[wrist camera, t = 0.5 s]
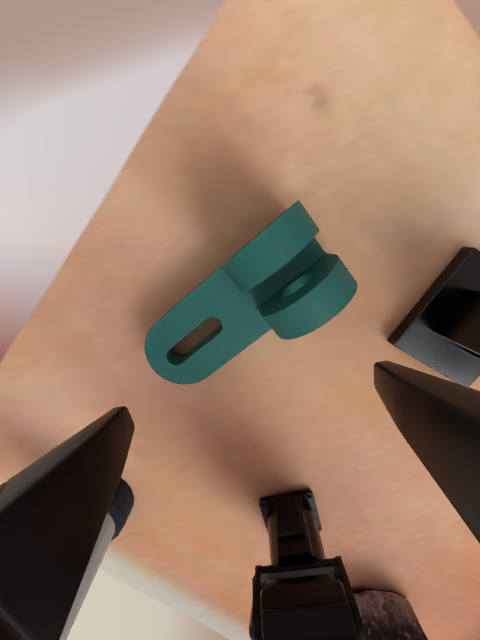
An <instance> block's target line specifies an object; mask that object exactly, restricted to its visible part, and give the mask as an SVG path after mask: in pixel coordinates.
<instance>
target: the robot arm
mask: <svg viewBox="0 0 480 640" xmlns="http://www.w3.org/2000/svg"><path fill="white" fill-rule="evenodd" d="M374 385H375V388H376V390H377V392H378V394H379V396H380V398H381V399H382V401H383V403H384V405H385V406H386V408H387V410H388V412H389V414H390V415H391V417H392V419H393V421H394V422H395V424H396V426H397V427H398V429H399V431H400V432H401V434H402V435H403V436H404V438H405V439H406V441H407V442H408V444H409V445H410V446H411V448H412V449H413V451H414V452H415V453H416V455H417V456H418V458H419V459H420V460H421V462H422V463H423V465H424V466H425V467H426V469H427V470H428V472H429V473H430V474H431V476H432V477H433V479H434V480H435V481H436V483H437V484H438V486H439V487H440V488H441V490H442V491H443V493H444V494H445V495H446V497H447V498H448V500H449V501H450V502H451V504H452V505H453V507H454V508H455V509H456V511H457V512H458V514H459V515H460V516H461V518H462V519H463V521H464V522H465V523H466V525H467V526H468V528H469V529H470V530H471V532H472V533H473V535H474V536H475V537H476V539H477V540H478V542H479V543H480V391H478V390H475V389H472V388H468V387H465V386H462V385H459V384H456V383H453V382H450V381H447V380H444V379H441V378H438V377H435V376H432V375H429V374H426V373H423V372H420V371H417V370H414V369H411V368H408V367H405V366H402V365H399V364H396V363H393V362H390V361H382V362H376V363H375V364H374ZM133 433H134V422H133V420H132V418H131V415H130V413H129V411H128V409H127V408H126V407H125V406H122V407H116V408H113V409H112V410H110V411H109V412H107V413H106V414H104V415H103V416H101V417H100V418H98V419H97V420H95V421H94V422H92V423H91V424H90V425H88V426H87V427H85V428H84V429H82V430H81V431H79V432H78V433H76V434H75V435H73V436H72V437H71V438H69V439H68V440H66V441H65V442H63V443H62V444H60V445H59V446H57V447H56V448H54V449H53V450H51V451H50V452H49V453H47V454H46V455H44V456H43V457H41V458H40V459H38V460H37V461H35V462H34V463H32V464H31V465H30V466H28V467H27V468H25V469H24V470H22V471H21V472H19V473H18V474H16V475H15V476H13V477H12V478H10V479H9V480H8V481H7V482H5V483H3V484H2V485H0V640H60V638H61V635H62V632H63V630H64V627H65V624H66V622H67V619H68V616H69V614H70V611H71V608H72V606H73V603H74V600H75V598H76V595H77V592H78V590H79V587H80V584H81V582H82V579H83V576H84V574H85V571H86V568H87V566H88V563H89V560H90V558H91V555H92V552H93V550H94V547H95V544H96V542H97V539H98V537H99V534H100V531H101V529H102V526H103V523H104V521H105V518H106V515H107V513H108V510H109V507H110V505H111V502H112V499H113V497H114V494H115V491H116V489H117V486H118V483H119V481H120V478H121V475H122V472H123V469H124V466H125V462H126V459H127V455H128V451H129V448H130V444H131V440H132V437H133ZM259 505H260V508H261V511H262V514H263V517H264V520H265V523H266V526H267V530H268V533H269V545H270V558H271V565H268V566H261V565H258V566H256V568H255V575H254V578H252V580H253V602H252V610H251V617H250V625H249V635H250V638H251V639H252V640H367V638H366V634H365V630H364V627H363V623H362V619H361V616H360V612H359V609H358V606H357V603H356V600H355V597H354V594H353V591H352V588H351V585H350V582H349V579H348V576H347V574H346V571H345V568H344V565H343V562H342V559H341V556H337V557H335V558H330V559H326V557H325V553H324V549H323V545H322V541H321V538H320V534H319V531H321V524H320V520H319V516H318V512H317V508H316V504H315V500H314V496H313V492H312V491H311V490H305V491H299V492H293V493H288V494H282V495H277V496H271V497H265V498H261V499H260V500H259Z"/></svg>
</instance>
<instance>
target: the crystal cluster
mask: <svg viewBox="0 0 480 640" xmlns="http://www.w3.org/2000/svg"><path fill="white" fill-rule="evenodd" d="M353 594H354V597H355V600H356V603H357V606H358V609H359V612H360V616H361V619H362V623H363V627H364V630H365V634H366V638H367V640H428V639H427V637H426V635H425V634H424V632H423V630H422V628H421V626H420V624H419V621H418V619H417V617H416V615H415V613H414V611H413V609H412V607H411V605H410V603H409V601H408V600H407V599H406V598H403V597H401V596H400V595H398V594H395V593H393V592H383V591H375V590H374V591H368V590H366V591H364V592H362V593H353Z"/></svg>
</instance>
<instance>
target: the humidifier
mask: <svg viewBox="0 0 480 640" xmlns="http://www.w3.org/2000/svg"><path fill="white" fill-rule="evenodd" d="M133 503H134V496H133V493H132V490H131V488H130V487H129V486H128V484H127V483H126V482H125V481H124V480H122V479H121V478H120V481H119V483H118V486H117V489H116V491H115V494H114V497H113V499H112V502H111V505H110V507H109V510H108V513H107V515H106V518H105V521H104V523H103V526H102V529H101V531H100V534H99V537H98V539H97V542H96V544H95V547H94V550H93V552H92V555H91V558H90V560H89V563H88V566H87V568H86V571H85V574H84V576H83V579H82V582H81V584H80V587H79V590H78V592H77V595H76V598H75V600H74V603H73V606H72V608H71V611H70V614H69V616H68V619H67V622H66V624H65V627H64V630H63V632H62V635H61V638H60V640H66V639H67V636H68V634H69V632H70V630H71V628H72V625H73V623H74V621H75V619H76V617H77V614H78V612H79V610H80V608H81V606H82V603H83V601H84V599H85V597H86V594H87V592H88V590H89V588H90V585H91V583H92V581H93V579H94V577H95V574H96V572H97V570H98V568H99V566H100V564H101V561H102V559H103V557H104V555H105V552H106V550H107V548H108V546H109V544H110V541H112V540H113V539H114V538H116V537H117V536H118V535H119V533H120V531H121V530H122V528H123V526H124V525H125V523H126V521H127V518H128V516H129V514H130V511H131V509H132V507H133Z"/></svg>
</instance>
